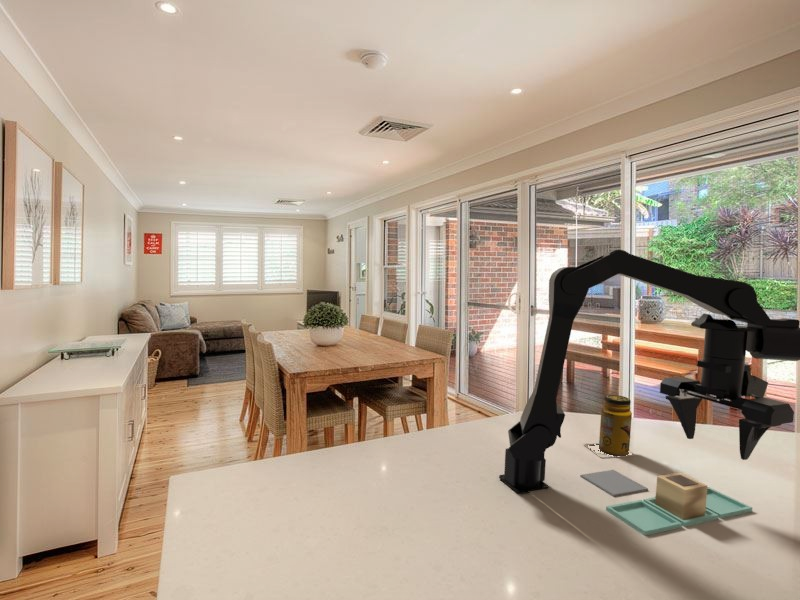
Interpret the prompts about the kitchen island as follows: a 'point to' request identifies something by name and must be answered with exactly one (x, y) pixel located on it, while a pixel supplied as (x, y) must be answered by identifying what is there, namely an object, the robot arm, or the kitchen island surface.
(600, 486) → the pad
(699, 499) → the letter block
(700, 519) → the dish middle
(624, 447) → the condiment
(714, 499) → the dish far
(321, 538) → the kitchen island surface
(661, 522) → the dish near
